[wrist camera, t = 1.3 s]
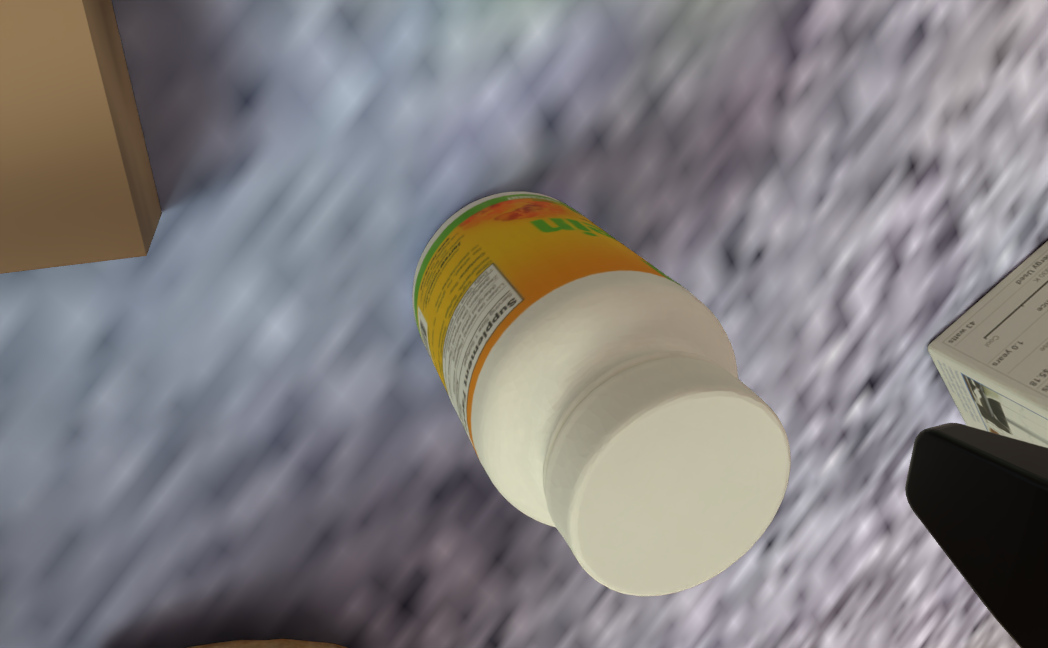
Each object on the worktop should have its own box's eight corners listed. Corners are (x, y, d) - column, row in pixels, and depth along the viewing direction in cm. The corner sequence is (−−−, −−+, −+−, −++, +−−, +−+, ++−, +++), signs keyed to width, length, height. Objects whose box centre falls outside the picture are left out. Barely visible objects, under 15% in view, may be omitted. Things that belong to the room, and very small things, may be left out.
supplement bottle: (633, 234, 21) (888, 404, 13) (544, 397, 22) (722, 650, 14) (464, 152, 19) (641, 295, 10) (374, 340, 20) (467, 605, 12)
